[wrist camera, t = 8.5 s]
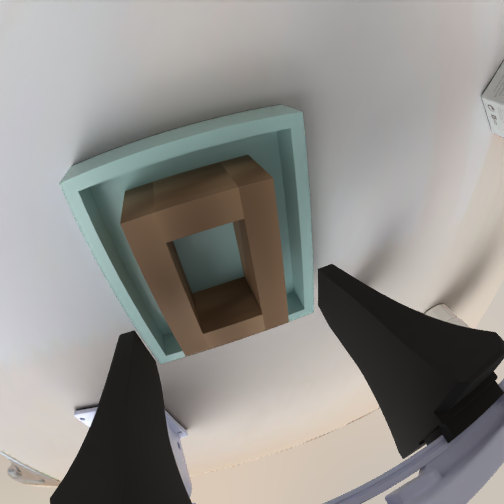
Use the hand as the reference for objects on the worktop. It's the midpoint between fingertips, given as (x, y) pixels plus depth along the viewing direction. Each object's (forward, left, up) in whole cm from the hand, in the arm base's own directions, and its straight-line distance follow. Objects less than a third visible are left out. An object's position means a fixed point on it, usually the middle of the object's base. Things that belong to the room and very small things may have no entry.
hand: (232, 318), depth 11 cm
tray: (0, 0, -6) cm, 6 cm away
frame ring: (0, 0, -5) cm, 5 cm away
